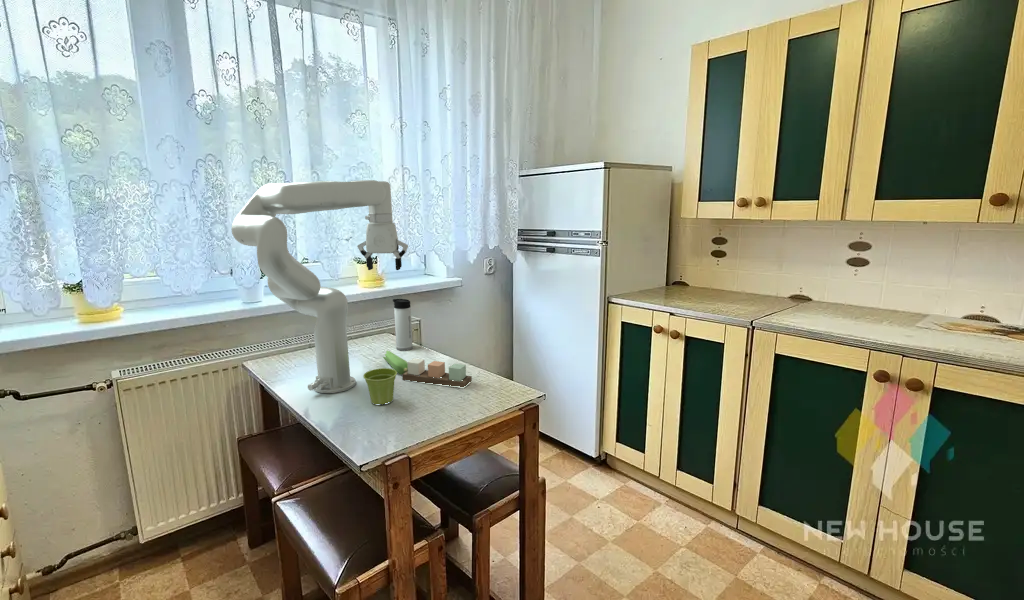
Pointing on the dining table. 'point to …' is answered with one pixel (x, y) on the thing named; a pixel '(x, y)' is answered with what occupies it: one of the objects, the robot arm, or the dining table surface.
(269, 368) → the dining table surface
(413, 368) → the ivory block
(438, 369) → the terracotta block
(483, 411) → the dining table surface
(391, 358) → the edible corn
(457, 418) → the dining table surface
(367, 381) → the plant pot
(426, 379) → the button board
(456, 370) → the sage block
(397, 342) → the travel mug
